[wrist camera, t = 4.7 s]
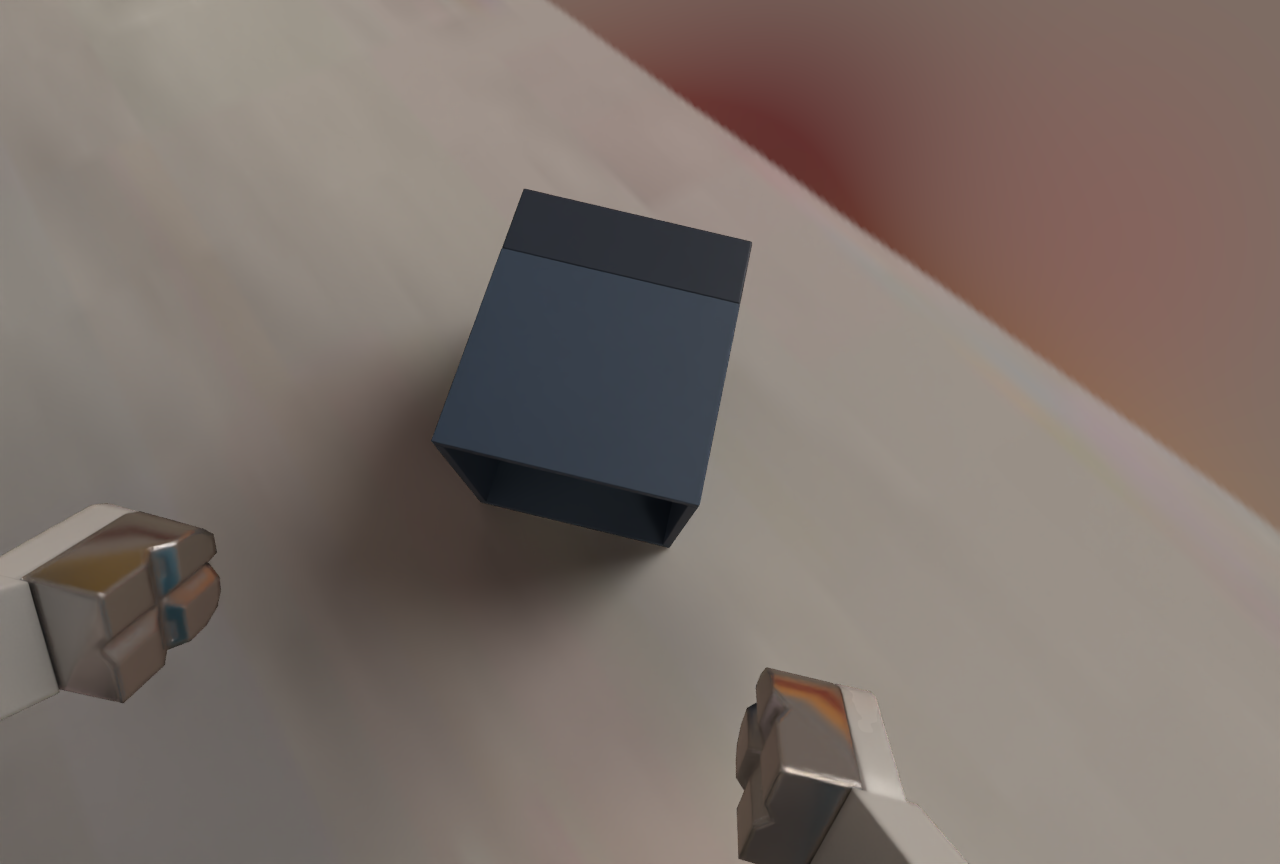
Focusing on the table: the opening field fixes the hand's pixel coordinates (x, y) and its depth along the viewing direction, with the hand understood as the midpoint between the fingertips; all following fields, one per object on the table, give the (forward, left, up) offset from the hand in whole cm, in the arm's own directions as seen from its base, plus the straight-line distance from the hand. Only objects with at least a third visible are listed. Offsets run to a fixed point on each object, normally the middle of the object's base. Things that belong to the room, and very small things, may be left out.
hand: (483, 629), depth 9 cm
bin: (+3, +7, -11) cm, 13 cm away
